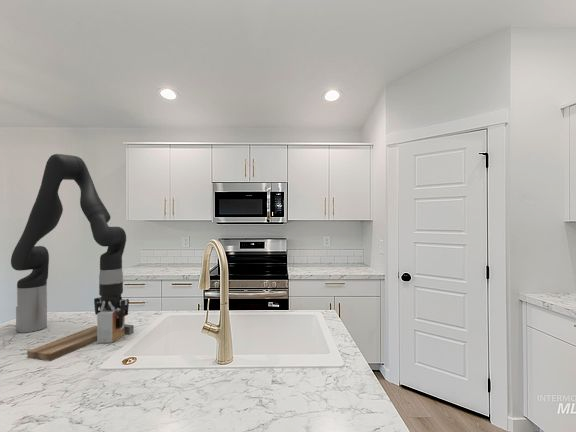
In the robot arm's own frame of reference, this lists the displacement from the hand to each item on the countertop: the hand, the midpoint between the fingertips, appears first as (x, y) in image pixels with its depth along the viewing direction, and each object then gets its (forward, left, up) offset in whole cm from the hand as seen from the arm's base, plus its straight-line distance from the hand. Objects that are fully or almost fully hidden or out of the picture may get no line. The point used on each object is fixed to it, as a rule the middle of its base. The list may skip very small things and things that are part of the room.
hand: (111, 327), depth 111 cm
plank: (-9, -7, -4) cm, 12 cm away
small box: (0, 0, -4) cm, 4 cm away
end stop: (0, +6, -4) cm, 8 cm away
